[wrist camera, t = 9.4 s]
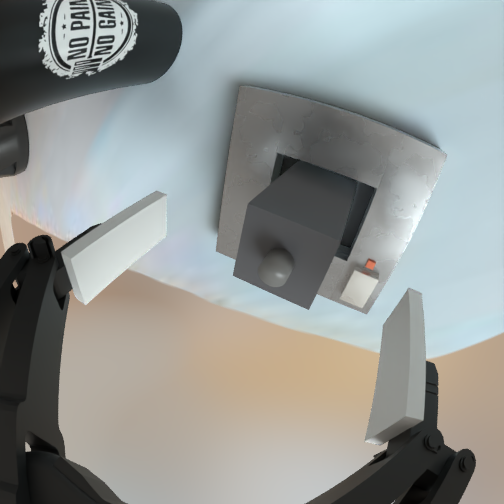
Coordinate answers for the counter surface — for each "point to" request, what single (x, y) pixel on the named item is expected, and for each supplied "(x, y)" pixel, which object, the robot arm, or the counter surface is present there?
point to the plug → (294, 232)
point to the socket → (340, 161)
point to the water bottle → (80, 49)
